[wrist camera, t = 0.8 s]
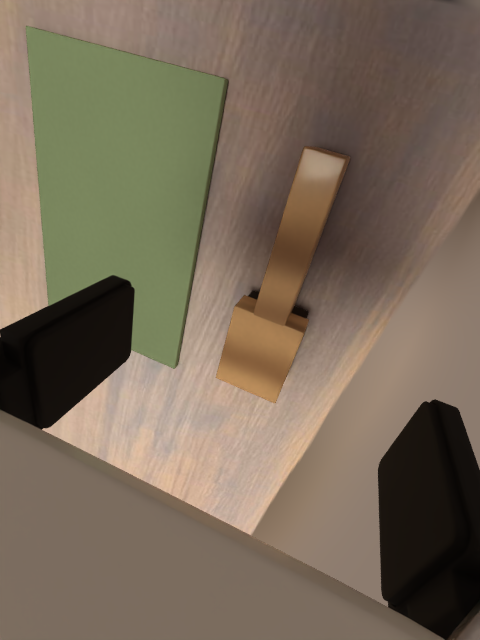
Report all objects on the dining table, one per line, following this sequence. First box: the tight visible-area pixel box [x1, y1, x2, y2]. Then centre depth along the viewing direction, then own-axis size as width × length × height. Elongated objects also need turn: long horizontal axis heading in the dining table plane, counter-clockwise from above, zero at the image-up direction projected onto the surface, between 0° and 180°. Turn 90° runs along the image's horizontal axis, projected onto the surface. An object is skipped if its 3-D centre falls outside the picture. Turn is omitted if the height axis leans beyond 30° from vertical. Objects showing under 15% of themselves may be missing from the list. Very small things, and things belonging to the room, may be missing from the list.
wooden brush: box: [216, 146, 350, 403], centre depth 22 cm, size 16×5×4 cm, turn 166°
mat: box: [26, 26, 228, 369], centre depth 26 cm, size 22×14×1 cm, turn 166°
